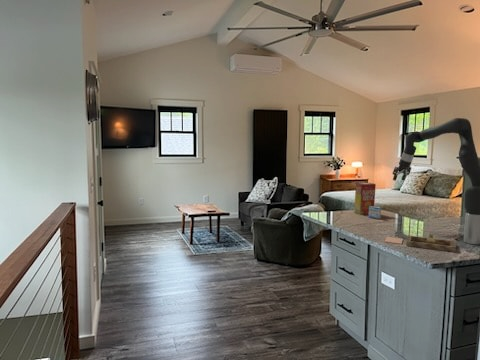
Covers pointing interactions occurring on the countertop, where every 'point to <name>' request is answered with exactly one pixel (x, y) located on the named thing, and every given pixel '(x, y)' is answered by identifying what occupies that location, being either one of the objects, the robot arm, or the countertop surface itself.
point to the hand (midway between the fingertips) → (398, 180)
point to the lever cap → (430, 238)
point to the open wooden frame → (431, 246)
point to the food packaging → (364, 197)
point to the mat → (394, 240)
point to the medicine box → (375, 212)
